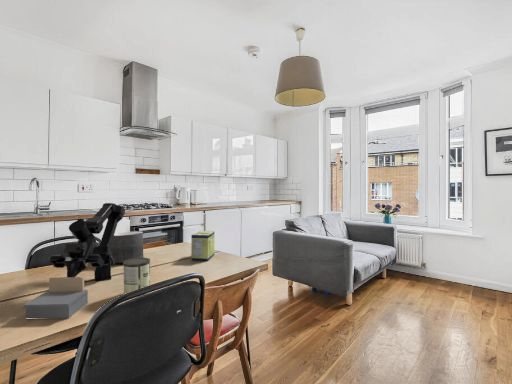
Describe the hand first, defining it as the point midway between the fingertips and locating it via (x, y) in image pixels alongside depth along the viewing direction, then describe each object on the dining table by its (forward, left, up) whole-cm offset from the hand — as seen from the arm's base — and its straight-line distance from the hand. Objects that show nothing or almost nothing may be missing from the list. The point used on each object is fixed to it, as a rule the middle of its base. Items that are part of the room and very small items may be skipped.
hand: (68, 280), depth 105 cm
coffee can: (-24, +2, -9) cm, 26 cm away
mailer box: (+2, +5, -9) cm, 11 cm away
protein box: (-67, -40, -9) cm, 78 cm away
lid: (+3, +6, -4) cm, 8 cm away
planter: (-25, -53, -8) cm, 59 cm away
